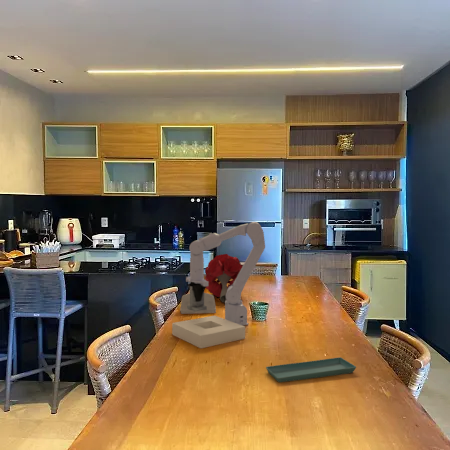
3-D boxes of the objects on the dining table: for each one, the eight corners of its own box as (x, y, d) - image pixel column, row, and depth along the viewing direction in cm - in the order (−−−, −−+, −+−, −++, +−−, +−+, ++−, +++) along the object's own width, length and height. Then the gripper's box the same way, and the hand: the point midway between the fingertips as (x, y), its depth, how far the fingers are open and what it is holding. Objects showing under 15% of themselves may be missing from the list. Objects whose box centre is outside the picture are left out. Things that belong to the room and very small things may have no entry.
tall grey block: (206, 309, 191) (206, 286, 191) (194, 311, 187) (194, 287, 187) (198, 306, 196) (199, 283, 195) (187, 308, 192) (187, 285, 192)
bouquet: (248, 313, 234) (243, 276, 260) (247, 278, 221) (242, 243, 247) (206, 316, 234) (205, 279, 259) (202, 281, 221) (202, 245, 246)
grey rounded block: (180, 313, 207) (180, 291, 210) (180, 314, 211) (179, 293, 214) (216, 312, 209) (216, 291, 212) (215, 313, 213) (215, 292, 216)
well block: (245, 338, 170) (245, 326, 170) (200, 348, 159) (200, 335, 158) (214, 326, 187) (214, 315, 186) (172, 334, 175) (172, 323, 174)
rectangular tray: (277, 385, 129) (277, 376, 129) (265, 373, 137) (265, 365, 137) (357, 375, 137) (357, 366, 137) (340, 364, 145) (340, 356, 145)
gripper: (179, 267, 194) (180, 298, 195) (198, 272, 183) (198, 305, 183) (193, 266, 198) (193, 296, 199) (212, 270, 187) (212, 302, 187)
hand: (196, 300), depth 192 cm, fingers closed on tall grey block, 2 cm apart
